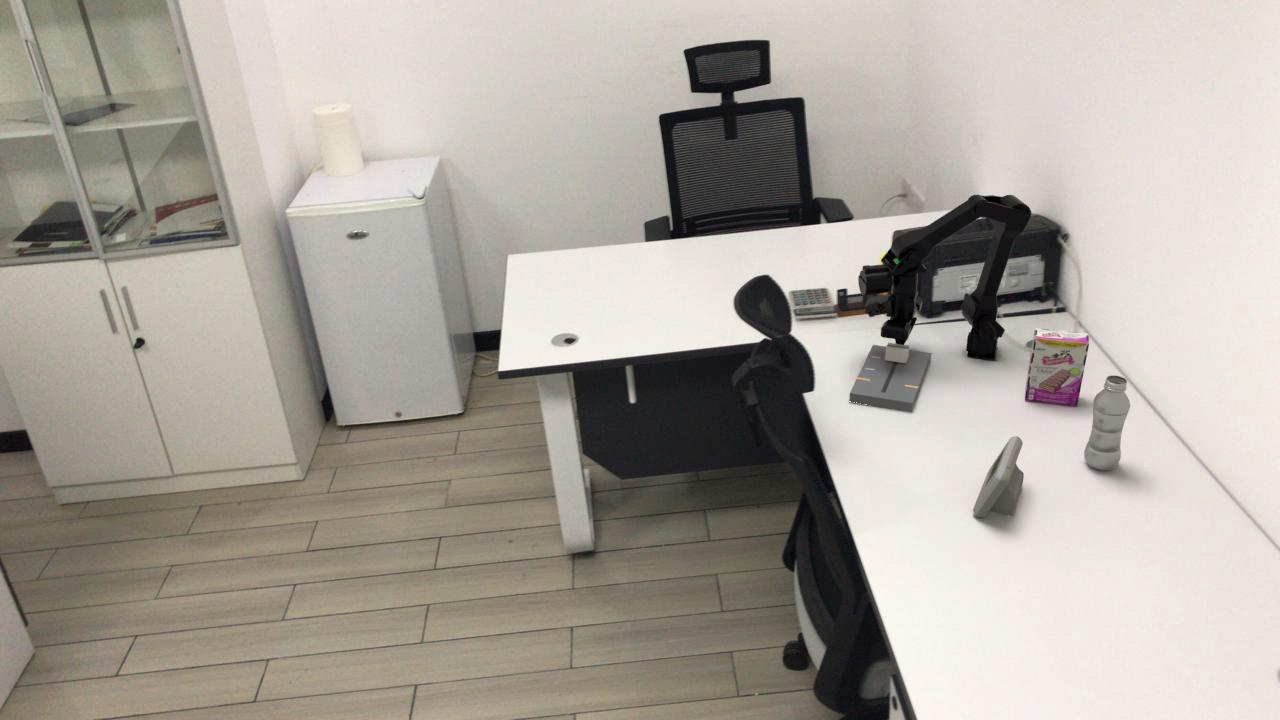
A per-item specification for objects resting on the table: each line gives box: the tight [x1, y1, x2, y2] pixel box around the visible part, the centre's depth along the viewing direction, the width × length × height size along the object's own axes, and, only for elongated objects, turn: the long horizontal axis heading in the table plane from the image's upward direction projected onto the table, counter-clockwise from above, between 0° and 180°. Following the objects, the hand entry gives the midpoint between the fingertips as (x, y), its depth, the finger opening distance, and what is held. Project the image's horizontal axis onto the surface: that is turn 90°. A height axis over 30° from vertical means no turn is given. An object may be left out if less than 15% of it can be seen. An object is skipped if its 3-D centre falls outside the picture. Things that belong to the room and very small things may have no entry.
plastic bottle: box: [1083, 374, 1131, 471], centre depth 197 cm, size 6×7×20 cm
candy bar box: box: [1024, 327, 1090, 407], centre depth 220 cm, size 11×5×16 cm, turn 71°
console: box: [848, 344, 932, 413], centre depth 234 cm, size 14×24×2 cm, turn 156°
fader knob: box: [885, 342, 910, 363], centre depth 237 cm, size 5×3×3 cm, turn 66°
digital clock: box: [972, 435, 1025, 518], centre depth 192 cm, size 16×9×11 cm, turn 139°
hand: (899, 348), depth 240 cm, fingers closed
